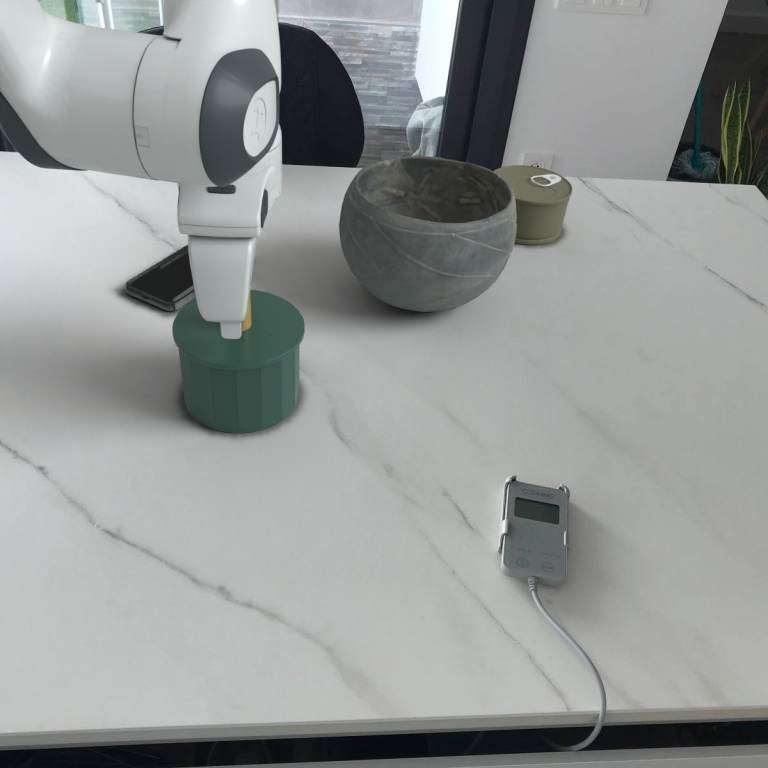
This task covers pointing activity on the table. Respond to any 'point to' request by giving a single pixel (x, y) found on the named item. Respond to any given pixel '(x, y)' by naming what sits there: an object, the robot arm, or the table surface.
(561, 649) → the table surface
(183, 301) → the phone
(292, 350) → the tin lid
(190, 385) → the tin
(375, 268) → the bowl
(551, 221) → the can
